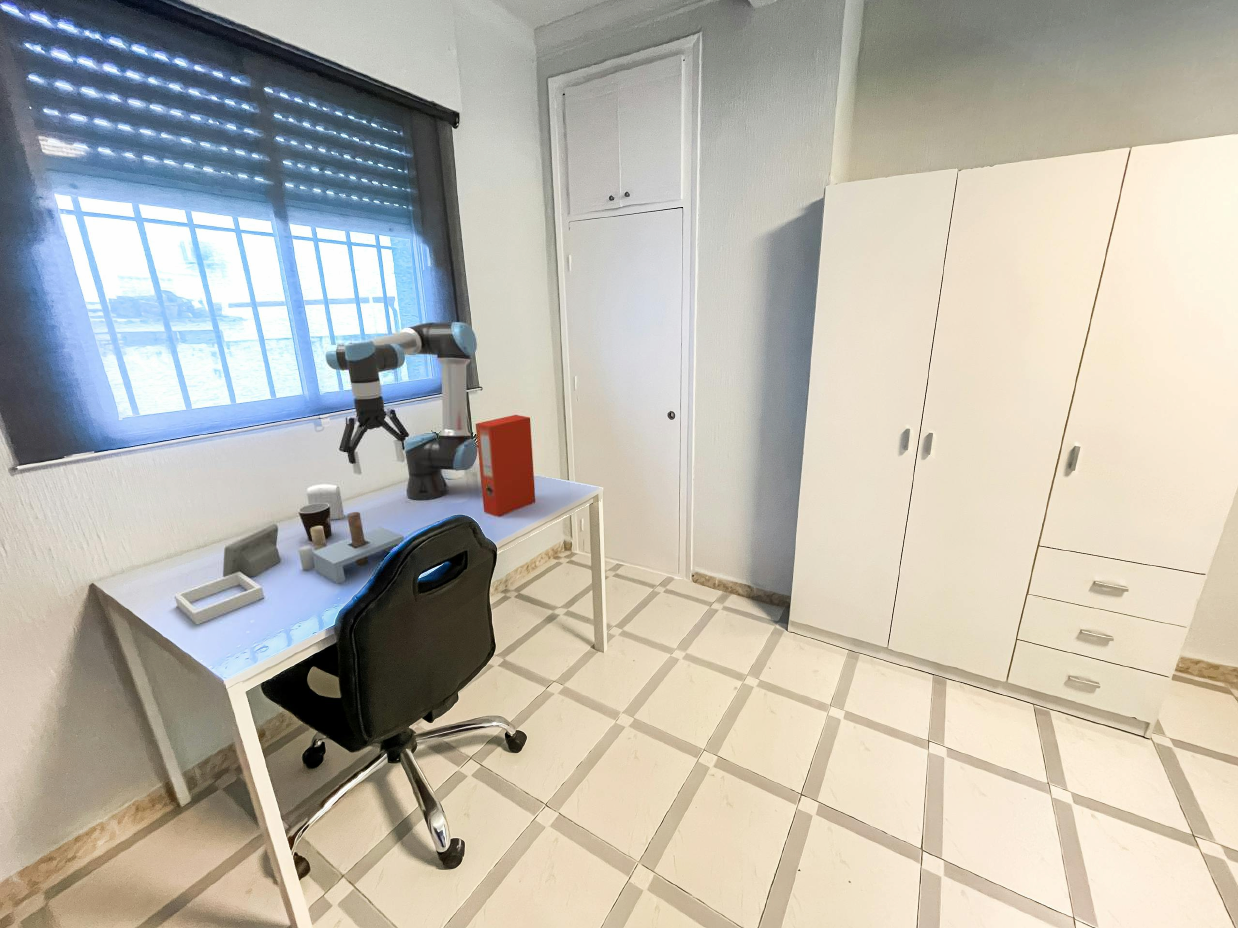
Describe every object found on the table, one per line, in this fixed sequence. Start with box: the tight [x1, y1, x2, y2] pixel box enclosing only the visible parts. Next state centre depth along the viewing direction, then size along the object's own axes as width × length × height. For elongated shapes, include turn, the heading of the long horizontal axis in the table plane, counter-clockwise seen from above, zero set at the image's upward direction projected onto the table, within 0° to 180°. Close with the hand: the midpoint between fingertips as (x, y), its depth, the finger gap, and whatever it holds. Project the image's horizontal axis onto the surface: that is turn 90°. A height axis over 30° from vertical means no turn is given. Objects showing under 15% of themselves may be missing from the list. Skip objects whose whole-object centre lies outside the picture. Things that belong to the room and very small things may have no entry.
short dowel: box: [297, 545, 315, 571], centre depth 144 cm, size 3×3×6 cm
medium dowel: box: [310, 526, 328, 551], centre depth 150 cm, size 3×3×9 cm
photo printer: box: [306, 483, 345, 520], centre depth 177 cm, size 10×4×12 cm, turn 98°
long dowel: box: [346, 511, 369, 567], centre depth 145 cm, size 3×3×15 cm
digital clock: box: [222, 523, 281, 578], centre depth 144 cm, size 16×9×11 cm, turn 156°
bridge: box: [312, 526, 405, 585], centre depth 146 cm, size 20×12×6 cm, turn 144°
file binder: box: [475, 414, 536, 517], centre depth 181 cm, size 8×17×32 cm, turn 141°
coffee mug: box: [297, 503, 332, 542], centre depth 164 cm, size 12×9×10 cm
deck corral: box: [173, 572, 265, 625], centre depth 129 cm, size 14×14×3 cm
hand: (380, 467), depth 153 cm, fingers open, 13 cm apart
